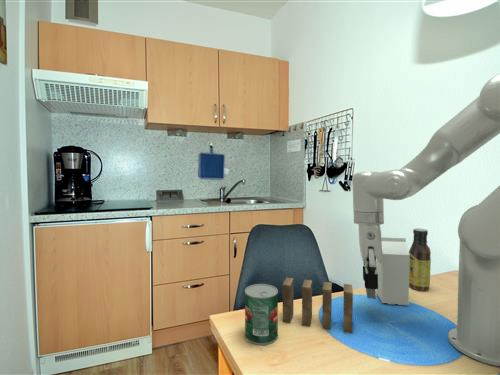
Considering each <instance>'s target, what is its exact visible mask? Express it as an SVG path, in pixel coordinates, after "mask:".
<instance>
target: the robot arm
mask: <svg viewBox="0 0 500 375" xmlns="http://www.w3.org/2000/svg"><path fill="white" fill-rule="evenodd" d="M499 134H500V73H498V74H496V75H494V76H493V77H491V78H490V79H489V80H487V82H486V83H484V85H483V87H482V88H481V90H480V93H479V95H478V96H477V97H476V98H475V99H474V100H473V101H471V102H470V103H468V104H467V105H466V106H465V107H464V108H462V109H461V110H460V111H459V112H458V113H457V114H455V115H454V116H453V117H452V118H450V119H449V120H448V121H447V122H446V123H445V124H443V125H442V126H441V127H439V128H438V129H437V130H436V131H435V132H434V133H433V135H432V136H431V138H430V139H429V141H428V143H427V144H426V145H425V147H424V148H423V149H422V150H421V151H420V152H419V153H418V154H417V155H416V156H415V157H413V159H412V160H410V161H409V162H408V163H406V164H405V165H403V167H401V168H399V169H390V170H386V171H381V172H379V171H363V172H357V173H354V174H353V176H352V207H353V209H352V210H353V224H355V225H358V244H359V251H360V257H361V260H362V262H363V266H362V279H363V282H364V288H365V289H366V288H367V289H375V290H377V289H378V273H377V261H378V262H380V263H382V262H383V256H382V240H381V237H382V230H381V229H382V228H381V226H382V225H384V224H385V216H384V215H385V214H384V212H385V211H384V210H385V208H384V206H385V205H384V200H388V201H389V200H391V201H401V200H405V199H408V198H411V197H412V196H414V195H416V194H417V193H419V192H420V191H422V190H424V188H426V187H427V186H429V185H430V184H431V183H432V182H434V181H435V180H437V179H438V178H439V177H441V176H442V175H443V174H445V173H446V172H448V170H450V169H452V168H453V167H455V166H457V165H459V164H460V163H462V162H463V161H464V160H466V159H467V158H468V157H470V156H471V155H472V154H474V153H476V151H477V150H479V149H481V147H483V146H484V145H486V144H487V143H488V142H490V141H491V140H493V139H494V138H496V137H497V136H498V135H499ZM457 234H458V239H459V256H458V278H457V279H458V280H457V282H458V284H457V286H458V287H457V314H456V315H457V317H456V319H457V320H456V321H457V322H456V327H455V328H451V329H450V330H449V331H448V334H447V335H448V336H447V337H448V341H449V343H450V345H452V346H453V347H454V348H455V349H456V350H457V351H459V352H460V353H462V354H464V355H465V356H467V357H469V358H470V359H474V360H476V361H479V362H482V363H484V364H488V365H491V366H495V367H500V185H497V187H496V188H495V189H494V190H493V191H492V192H491V193H489V194H488V195H487V196H486V197H485V198H484V199H483V200H482V201H481V202H479V203H478V204H476V205H473V206H471V207H469V208H468V209H467V210H466V211H464V212H463V214H462V215H461V217H460V219H459V223H458V226H457ZM367 259H369V261H367ZM367 264H369V265H367Z"/></svg>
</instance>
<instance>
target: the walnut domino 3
mask: <svg viewBox="0 0 500 375" xmlns="http://www.w3.org/2000/svg"><path fill="white" fill-rule="evenodd" d="M332 283H333V282H330V281H323V285H322V305H321V306H322V308H321V309H322V310H321V311H322V317H321V318H322V321H321V322H322V324H321V325H322V327H321V328H322V330H328V331H331V330H332V310H333V309H332V303H333V302H332V294H333V293H332V292H333V291H332V290H333V286H332V285H333V284H332Z"/></svg>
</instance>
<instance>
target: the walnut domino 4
mask: <svg viewBox="0 0 500 375" xmlns="http://www.w3.org/2000/svg"><path fill="white" fill-rule="evenodd" d="M353 296H354V291H353V284H349V283H343V317H342V318H343V333H347V334H353V320H354V319H353V318H354V317H353V311H354V310H353V308H354V304H353V303H354V302H353V300H354V299H353V298H354V297H353Z"/></svg>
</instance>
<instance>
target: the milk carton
mask: <svg viewBox="0 0 500 375" xmlns="http://www.w3.org/2000/svg"><path fill="white" fill-rule="evenodd" d="M381 240H382V256H383V262H382V263H380V262H378V261H377V260H376V261H377V273H378V289H375V291H376V295H377V297H378V298H379V300H380V302H381V303H382V304H383V303H388V304H387V305H395V304H398V305H399V306H409V303H410V302H409V301H410V299H409V298H410V286H409V260H410V254H409V248H408V245H407V241H406V240H407V238H406V237H382V236H381Z"/></svg>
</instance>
